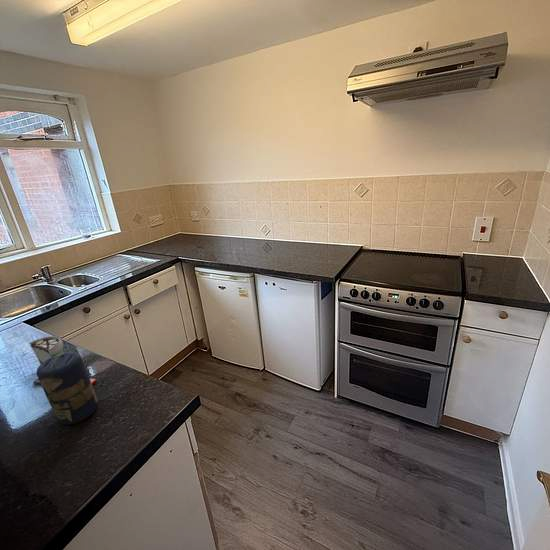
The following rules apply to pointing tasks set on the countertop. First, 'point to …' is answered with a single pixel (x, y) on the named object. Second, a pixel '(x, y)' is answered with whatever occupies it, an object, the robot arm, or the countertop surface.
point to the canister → (67, 387)
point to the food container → (47, 348)
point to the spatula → (40, 384)
